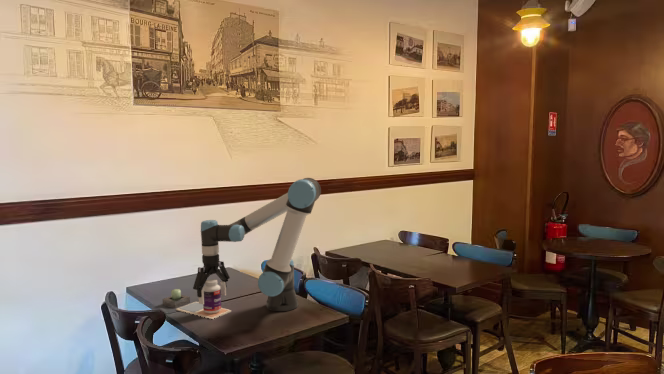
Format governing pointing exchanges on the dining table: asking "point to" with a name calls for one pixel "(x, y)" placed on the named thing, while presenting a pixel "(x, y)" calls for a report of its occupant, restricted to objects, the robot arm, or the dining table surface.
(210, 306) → the pill bottle
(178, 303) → the button housing
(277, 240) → the robot arm
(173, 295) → the button
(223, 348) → the dining table surface
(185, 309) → the board
